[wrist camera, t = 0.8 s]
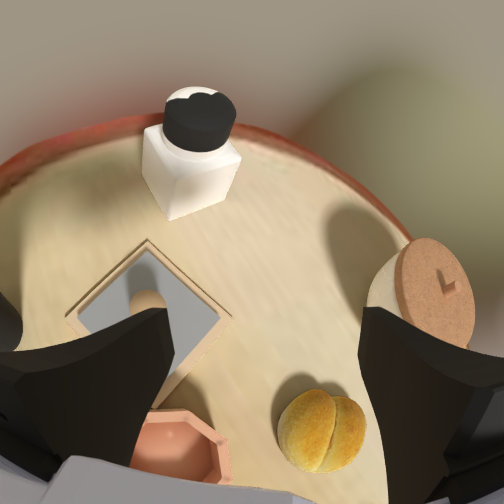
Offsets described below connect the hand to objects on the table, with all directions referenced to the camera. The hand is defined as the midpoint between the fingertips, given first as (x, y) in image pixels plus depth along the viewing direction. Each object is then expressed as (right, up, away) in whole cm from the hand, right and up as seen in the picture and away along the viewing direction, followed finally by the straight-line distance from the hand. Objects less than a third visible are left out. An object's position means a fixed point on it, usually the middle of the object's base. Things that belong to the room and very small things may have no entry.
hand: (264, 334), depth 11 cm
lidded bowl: (+16, -5, +23) cm, 29 cm away
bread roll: (+6, -15, +15) cm, 22 cm away
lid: (-9, -3, +14) cm, 17 cm away
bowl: (-7, -14, +10) cm, 19 cm away
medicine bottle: (-8, +10, +22) cm, 26 cm away
